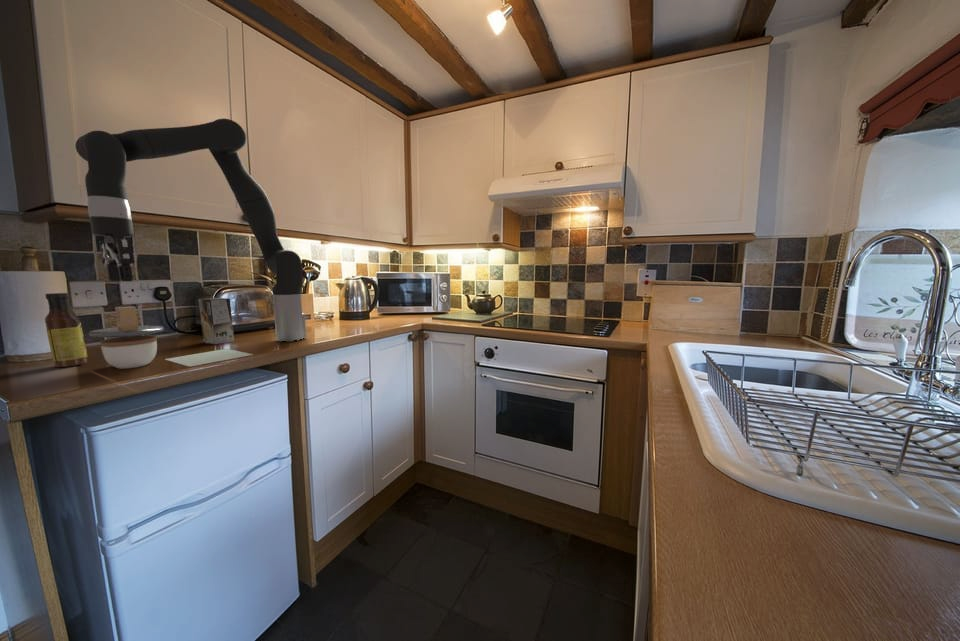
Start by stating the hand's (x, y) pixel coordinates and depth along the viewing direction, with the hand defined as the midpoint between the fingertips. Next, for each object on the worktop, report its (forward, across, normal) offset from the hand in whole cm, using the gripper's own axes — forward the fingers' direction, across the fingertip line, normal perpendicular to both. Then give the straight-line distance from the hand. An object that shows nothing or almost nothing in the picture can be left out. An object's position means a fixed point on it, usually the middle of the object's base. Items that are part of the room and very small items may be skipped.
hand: (120, 281), depth 91 cm
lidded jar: (+23, 0, 0) cm, 23 cm away
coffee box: (+24, +18, -28) cm, 41 cm away
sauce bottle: (+23, +17, +8) cm, 30 cm away
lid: (+14, 0, 0) cm, 14 cm away
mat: (+23, -7, -15) cm, 28 cm away
